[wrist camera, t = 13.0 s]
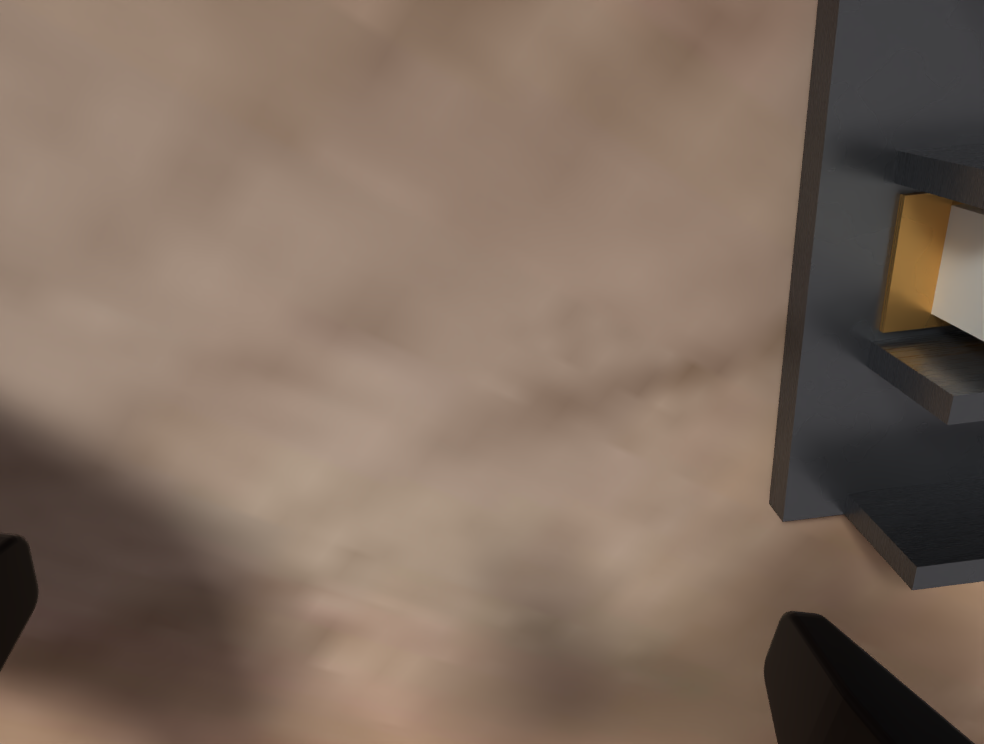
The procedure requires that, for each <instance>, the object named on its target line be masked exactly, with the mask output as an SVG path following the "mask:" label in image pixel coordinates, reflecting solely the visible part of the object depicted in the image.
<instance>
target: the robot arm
mask: <svg viewBox="0 0 984 744" xmlns="http://www.w3.org/2000/svg"><path fill="white" fill-rule="evenodd" d="M37 599H38V584H37V579H36V575H35V570H34V566H33V561H32V556H31V552H30V547H29V544H28V542H27V540H26V539H25V538H24V537H23V536H20V535H17V534H8V533H0V671H1V670H2V668H3V666H4V664H5V662H6V660H7V659H8V657H9V655H10V653H11V651H12V649H13V648H14V646H15V644H16V642H17V640H18V638H19V637H20V635H21V633H22V631H23V629H24V627H25V626H26V624H27V622H28V620H29V618H30V616H31V615H32V613H33V611H34V609H35V606H36V603H37ZM764 679H765V685H766V689H767V694H768V699H769V704H770V709H771V713H772V718H773V723H774V728H775V733H776V737H777V742H778V744H974V743H973V742H972V741H971V740H970V739H968V738H967V737H966V736H965V735H964V734H962V733H961V732H960V731H959V730H958V729H957V728H955V727H954V726H953V725H952V724H951V723H949V722H948V721H947V720H946V719H945V718H943V717H942V716H941V715H940V714H939V713H938V712H936V711H935V710H934V709H933V708H932V707H930V706H929V705H928V704H927V703H926V702H925V701H923V700H922V699H921V698H920V697H919V696H917V695H916V694H915V693H914V692H913V691H911V690H910V689H909V688H908V687H907V686H906V685H904V684H903V683H902V682H901V681H900V680H898V679H897V678H896V677H895V676H894V675H892V674H891V673H890V672H889V671H888V670H887V669H885V668H884V667H883V666H882V665H881V664H879V663H878V662H877V661H876V660H875V659H874V658H872V657H871V656H870V655H869V654H868V653H866V652H865V651H864V650H863V649H862V648H860V647H859V646H858V645H857V644H856V643H855V642H853V641H852V640H851V639H850V638H849V637H847V636H846V635H845V634H844V633H843V632H842V631H840V630H839V629H838V628H837V627H836V626H834V625H833V624H832V623H831V622H830V621H828V620H827V619H826V618H825V617H823V616H821V615H819V614H815V613H805V612H795V611H790V612H786V613H785V614H784V615H783V616H782V617H781V619H780V621H779V624H778V626H777V629H776V632H775V634H774V637H773V640H772V642H771V645H770V648H769V651H768V653H767V656H766V659H765V664H764Z"/></svg>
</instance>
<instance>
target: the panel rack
mask: <svg viewBox="0 0 984 744" xmlns="http://www.w3.org/2000/svg"><path fill="white" fill-rule="evenodd" d="M959 204H968V205H971V206H975V207H978V208H982V209H984V0H818V8H817V18H816V29H815V39H814V49H813V59H812V70H811V80H810V90H809V100H808V111H807V121H806V131H805V141H804V151H803V162H802V172H801V182H800V192H799V203H798V213H797V223H796V233H795V244H794V254H793V264H792V274H791V285H790V295H789V305H788V315H787V325H786V336H785V346H784V356H783V366H782V377H781V387H780V397H779V407H778V418H777V428H776V438H775V448H774V458H773V469H772V479H771V489H770V499H769V504H770V505H771V507H772V508H773V509H774V511H775V512H776V513H777V515H778V516H779V517H780V519H781V520H782V521H783V522H784V521H793V520H801V519H809V518H817V517H825V516H833V515H842V514H844V515H845V516H846V517H847V518H848V519H849V520H850V521H851V523H852V524H853V525H854V526H855V527H856V528H857V529H858V530H859V531H860V533H861V534H862V535H863V536H864V537H865V538H866V539H867V540H868V541H869V543H870V544H871V545H872V546H873V547H874V548H875V549H876V550H877V552H878V553H879V554H880V555H881V556H882V557H883V558H884V559H885V560H886V562H887V563H888V564H889V565H890V566H891V567H892V568H893V569H894V571H895V572H896V573H897V574H898V575H899V576H900V577H901V578H902V579H903V581H904V582H905V583H906V584H907V585H908V586H909V587H910V588H911V590H918V589H926V588H933V587H941V586H949V585H957V584H965V583H973V582H980V581H984V341H982V340H980V339H978V338H976V337H975V336H973V335H971V334H969V333H967V332H965V331H963V330H961V329H959V328H957V327H956V326H954V325H952V324H950V323H948V322H946V321H944V320H942V319H940V318H938V317H937V316H935V315H933V314H931V311H932V306H933V301H934V295H935V290H936V285H937V280H938V274H939V269H940V264H941V258H942V253H943V248H944V242H945V237H946V232H947V227H948V221H949V216H950V211H951V205H959Z"/></svg>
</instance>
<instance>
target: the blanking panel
mask: <svg viewBox="0 0 984 744" xmlns="http://www.w3.org/2000/svg"><path fill="white" fill-rule="evenodd" d="M931 314H933V315H935V316H937V317H938V318H940V319H942V320H944V321H946V322H948V323H950V324H952V325H954V326H956V327H957V328H959V329H961V330H963V331H965V332H967V333H969V334H971V335H973V336H975V337H976V338H978V339H980V340H982V341H984V209H982V208H978V207H975V206H971V205H968V204H959V205H951V211H950V216H949V221H948V227H947V232H946V237H945V242H944V248H943V253H942V258H941V264H940V269H939V274H938V280H937V285H936V290H935V295H934V301H933V306H932V311H931Z"/></svg>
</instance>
